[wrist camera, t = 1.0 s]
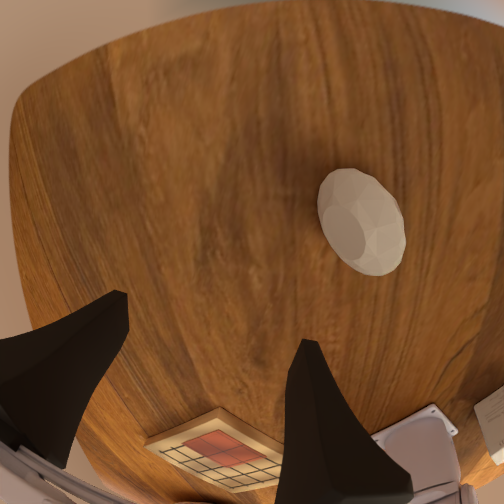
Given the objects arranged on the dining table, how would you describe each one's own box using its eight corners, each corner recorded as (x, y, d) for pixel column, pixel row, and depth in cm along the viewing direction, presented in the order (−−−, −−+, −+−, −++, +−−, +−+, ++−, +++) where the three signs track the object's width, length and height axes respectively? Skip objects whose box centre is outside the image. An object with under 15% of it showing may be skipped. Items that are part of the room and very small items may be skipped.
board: (319, 463, 30) (319, 473, 29) (234, 485, 36) (232, 493, 35) (220, 406, 27) (216, 418, 26) (146, 438, 33) (142, 447, 32)
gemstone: (450, 246, 15) (405, 291, 13) (376, 247, 20) (326, 282, 18) (418, 140, 14) (364, 161, 12) (345, 163, 19) (289, 187, 17)
